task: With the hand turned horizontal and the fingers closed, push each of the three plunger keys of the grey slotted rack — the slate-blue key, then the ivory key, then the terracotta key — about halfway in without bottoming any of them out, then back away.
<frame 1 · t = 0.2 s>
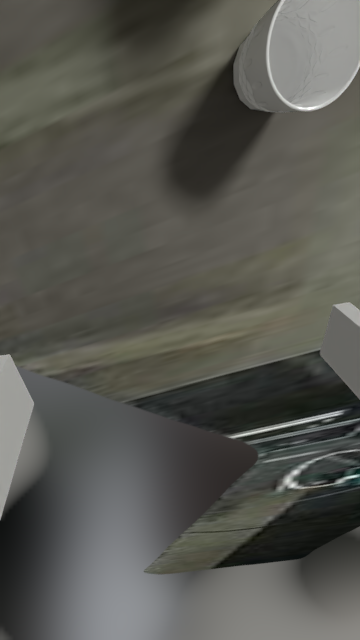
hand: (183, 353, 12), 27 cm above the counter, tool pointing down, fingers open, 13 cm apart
white cup: (263, 71, 30), on the counter
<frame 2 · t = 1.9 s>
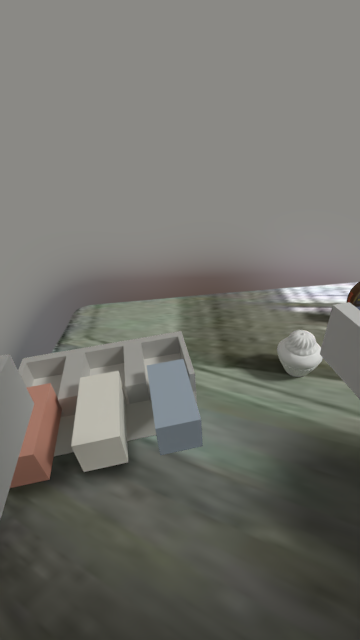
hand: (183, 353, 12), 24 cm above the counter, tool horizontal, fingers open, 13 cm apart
ivory key: (102, 417, 29), point 9 cm above the counter, slide at 0.0 cm
terracotta key: (28, 431, 28), point 9 cm above the counter, slide at 0.0 cm
slate key: (172, 403, 30), point 9 cm above the counter, slide at 0.0 cm
grey slotted rack: (119, 442, 36), on the counter
muffin: (295, 370, 44), on the counter
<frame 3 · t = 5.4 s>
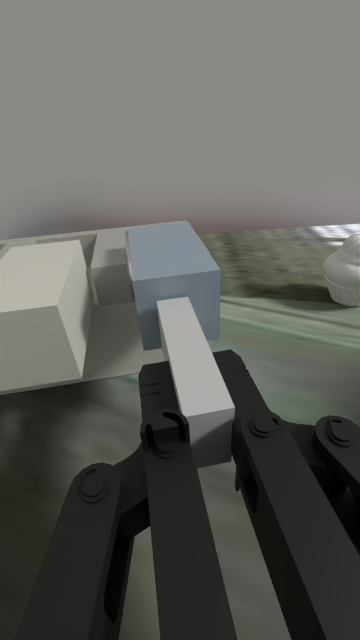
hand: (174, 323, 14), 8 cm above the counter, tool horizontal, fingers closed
ivory key: (42, 304, 16), point 9 cm above the counter, slide at 0.0 cm
slate key: (168, 277, 18), point 9 cm above the counter, slide at 1.3 cm, touching gripper
grey slotted rack: (86, 381, 23), on the counter
muffin: (347, 300, 31), on the counter
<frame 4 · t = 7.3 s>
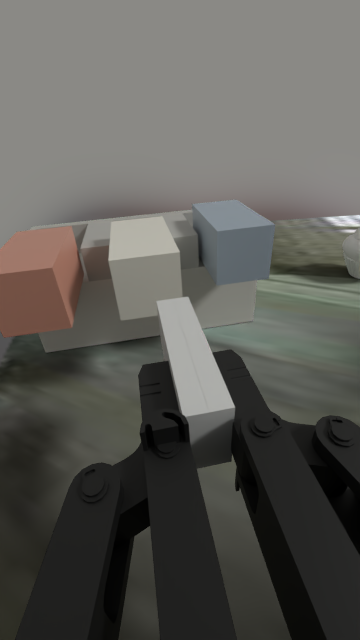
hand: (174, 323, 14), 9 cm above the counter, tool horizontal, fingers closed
ivory key: (143, 262, 21), point 9 cm above the counter, slide at 0.0 cm
terracotta key: (41, 275, 20), point 9 cm above the counter, slide at 0.0 cm
slate key: (227, 238, 24), point 9 cm above the counter, slide at 2.8 cm
grey slotted rack: (153, 336, 28), on the counter
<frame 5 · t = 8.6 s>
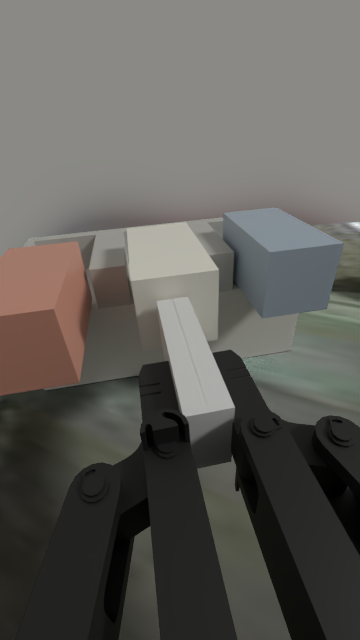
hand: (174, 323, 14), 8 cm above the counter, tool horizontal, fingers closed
ivory key: (167, 277, 18), point 9 cm above the counter, slide at 1.6 cm, touching gripper
terracotta key: (39, 307, 15), point 9 cm above the counter, slide at 0.0 cm
slate key: (269, 256, 19), point 9 cm above the counter, slide at 2.8 cm
grey slotted rack: (173, 369, 24), on the counter
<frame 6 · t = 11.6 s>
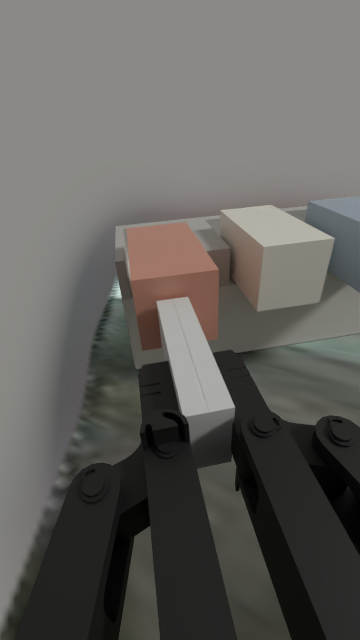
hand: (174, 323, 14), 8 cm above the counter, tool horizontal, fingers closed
ivory key: (265, 251, 20), point 9 cm above the counter, slide at 2.8 cm
terracotta key: (167, 277, 18), point 9 cm above the counter, slide at 0.8 cm, touching gripper
slate key: (359, 240, 21), point 9 cm above the counter, slide at 2.8 cm
grey slotted rack: (253, 350, 25), on the counter
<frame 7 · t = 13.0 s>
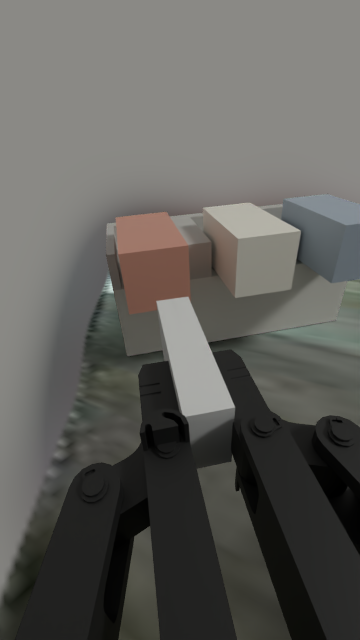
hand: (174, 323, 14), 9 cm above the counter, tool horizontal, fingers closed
ivory key: (243, 245, 22), point 9 cm above the counter, slide at 2.8 cm
terracotta key: (149, 257, 21), point 9 cm above the counter, slide at 2.8 cm
slate key: (329, 233, 23), point 9 cm above the counter, slide at 2.8 cm
grey slotted rack: (236, 337, 27), on the counter
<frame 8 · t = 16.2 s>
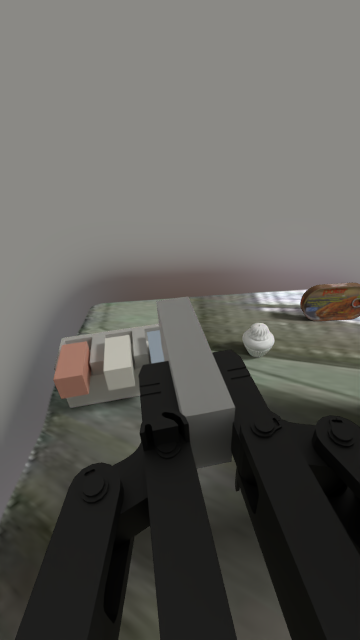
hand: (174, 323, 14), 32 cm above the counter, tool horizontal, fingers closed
ivory key: (119, 361, 47), point 9 cm above the counter, slide at 2.8 cm
terracotta key: (74, 368, 46), point 9 cm above the counter, slide at 2.8 cm
slate key: (162, 354, 48), point 9 cm above the counter, slide at 2.8 cm
grey slotted rack: (128, 397, 52), on the counter
tin: (330, 317, 69), on the counter
muffin: (256, 353, 60), on the counter
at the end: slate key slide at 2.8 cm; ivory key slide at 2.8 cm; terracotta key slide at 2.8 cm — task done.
